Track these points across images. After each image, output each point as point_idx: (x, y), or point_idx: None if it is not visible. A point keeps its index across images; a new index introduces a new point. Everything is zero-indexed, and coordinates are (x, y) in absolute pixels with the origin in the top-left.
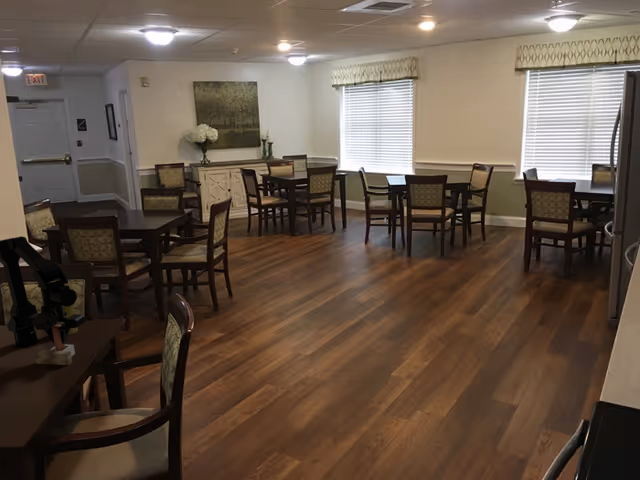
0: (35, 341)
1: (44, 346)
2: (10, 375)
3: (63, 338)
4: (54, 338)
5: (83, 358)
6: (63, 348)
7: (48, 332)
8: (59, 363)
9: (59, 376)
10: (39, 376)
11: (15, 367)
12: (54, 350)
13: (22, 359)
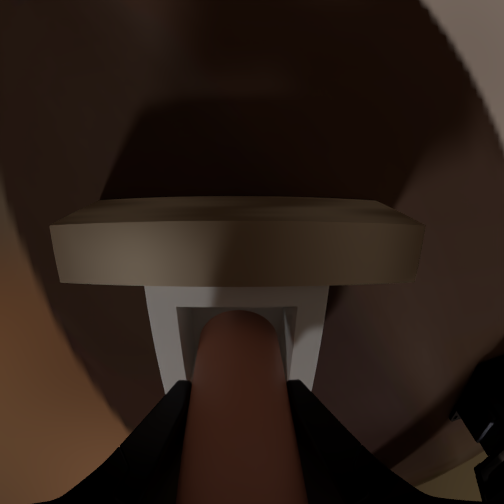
0: (461, 402)
1: (417, 391)
2: (431, 40)
3: (139, 426)
4: (263, 424)
5: (79, 301)
6: (198, 350)
7: (366, 489)
8: (169, 199)
9: (68, 46)
10: (212, 10)
11: (468, 148)
12: (291, 332)
13: (475, 252)
